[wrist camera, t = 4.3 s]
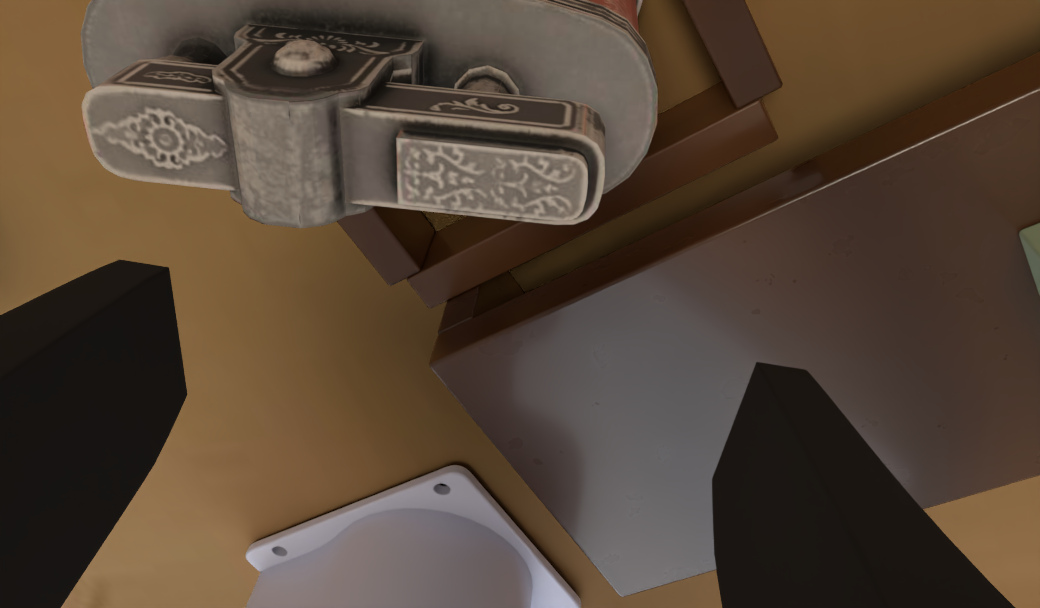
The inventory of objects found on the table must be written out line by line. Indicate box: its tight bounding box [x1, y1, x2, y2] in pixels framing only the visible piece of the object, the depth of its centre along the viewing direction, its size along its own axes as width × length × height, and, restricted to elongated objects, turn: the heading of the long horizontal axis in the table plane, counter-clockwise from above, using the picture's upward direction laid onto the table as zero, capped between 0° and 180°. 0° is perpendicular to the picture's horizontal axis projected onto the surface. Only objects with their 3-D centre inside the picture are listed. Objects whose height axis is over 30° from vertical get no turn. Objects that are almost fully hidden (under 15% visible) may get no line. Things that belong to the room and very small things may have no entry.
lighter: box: [81, 0, 658, 228], centre depth 13 cm, size 8×3×10 cm, turn 86°
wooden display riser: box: [337, 0, 1040, 597], centre depth 16 cm, size 18×21×4 cm
